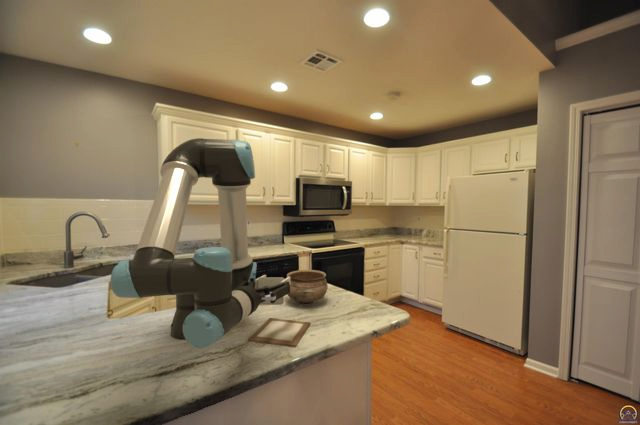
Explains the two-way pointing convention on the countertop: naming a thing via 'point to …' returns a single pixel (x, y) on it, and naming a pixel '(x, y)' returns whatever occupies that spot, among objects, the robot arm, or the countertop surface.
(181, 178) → the robot arm
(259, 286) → the electrical switch
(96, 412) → the countertop surface
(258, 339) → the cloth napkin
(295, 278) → the cooking pot
